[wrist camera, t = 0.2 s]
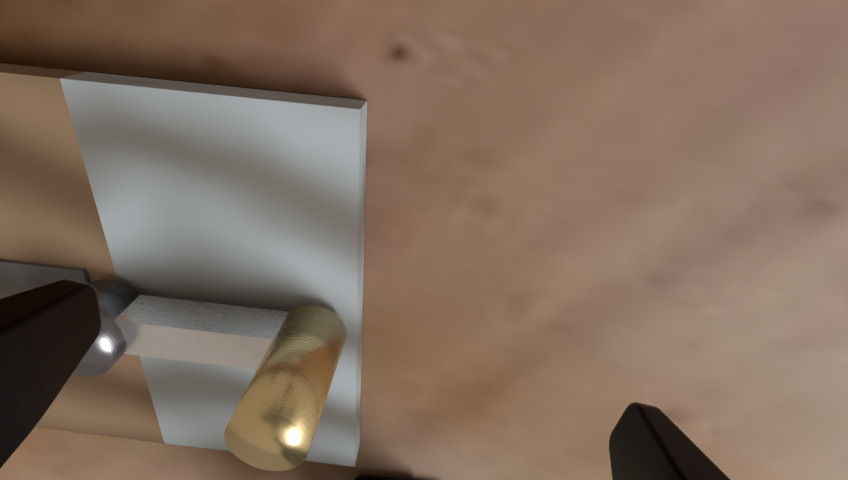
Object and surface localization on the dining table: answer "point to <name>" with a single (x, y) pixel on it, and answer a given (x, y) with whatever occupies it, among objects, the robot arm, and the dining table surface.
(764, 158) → the dining table surface
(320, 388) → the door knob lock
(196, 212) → the door board
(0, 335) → the robot arm
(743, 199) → the dining table surface
